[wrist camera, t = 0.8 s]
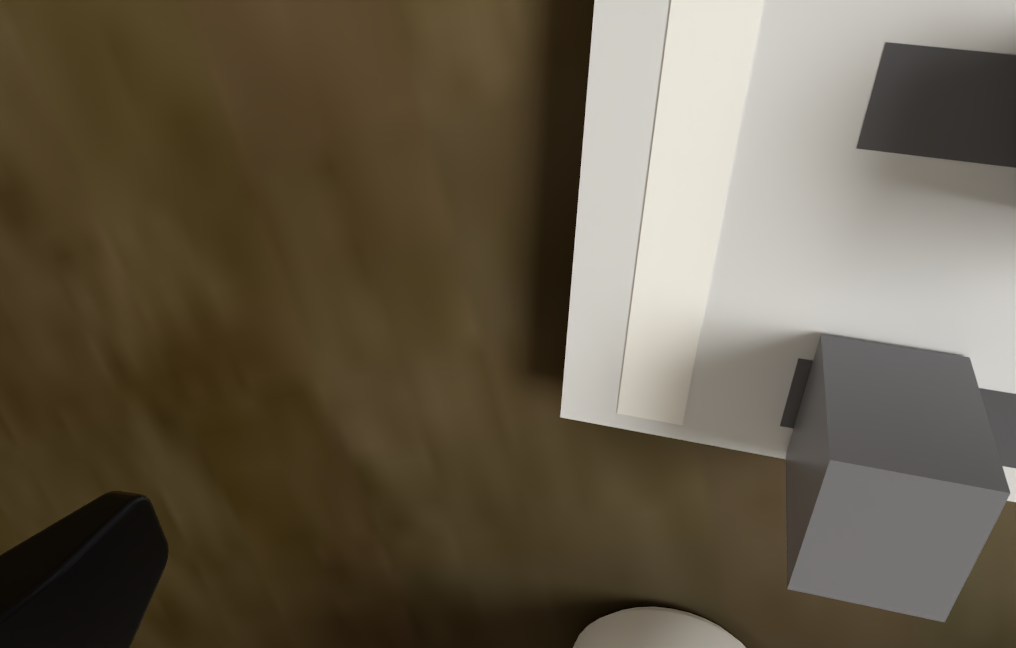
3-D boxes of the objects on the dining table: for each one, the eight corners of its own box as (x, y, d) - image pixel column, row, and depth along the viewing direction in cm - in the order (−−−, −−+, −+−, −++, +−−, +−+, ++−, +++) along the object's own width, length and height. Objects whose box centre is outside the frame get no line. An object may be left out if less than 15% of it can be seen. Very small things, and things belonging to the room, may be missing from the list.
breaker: (969, 357, 18) (1010, 493, 15) (918, 480, 20) (944, 622, 17) (820, 333, 19) (830, 459, 16) (785, 455, 21) (787, 589, 18)
